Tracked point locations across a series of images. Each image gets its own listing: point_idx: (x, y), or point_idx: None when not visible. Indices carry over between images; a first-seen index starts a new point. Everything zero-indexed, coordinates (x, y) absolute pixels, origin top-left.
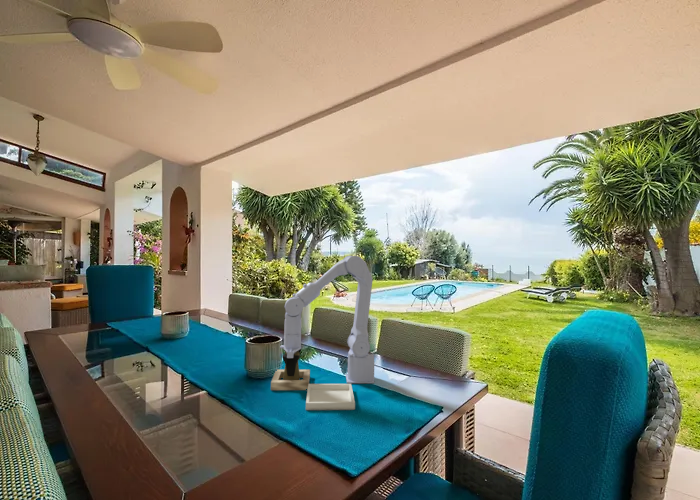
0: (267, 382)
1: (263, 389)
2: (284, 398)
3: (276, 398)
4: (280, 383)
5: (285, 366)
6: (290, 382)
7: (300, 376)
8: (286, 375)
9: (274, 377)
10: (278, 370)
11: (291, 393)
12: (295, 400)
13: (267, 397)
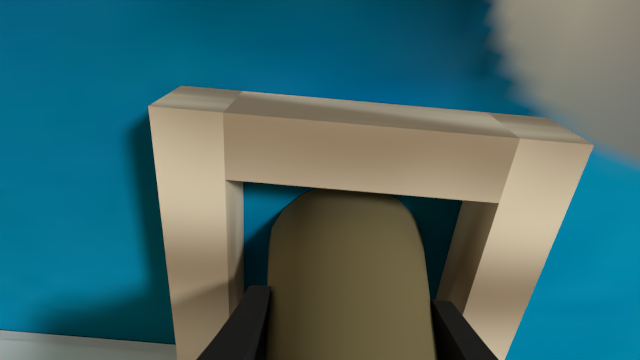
0: (393, 33)
1: (199, 5)
2: (31, 205)
3: (16, 146)
4: (163, 199)
5: (323, 329)
6: (171, 286)
7: None
8: (282, 271)
9: (306, 137)
10: (545, 172)
11: (132, 250)
12: (17, 273)
13: (16, 66)
